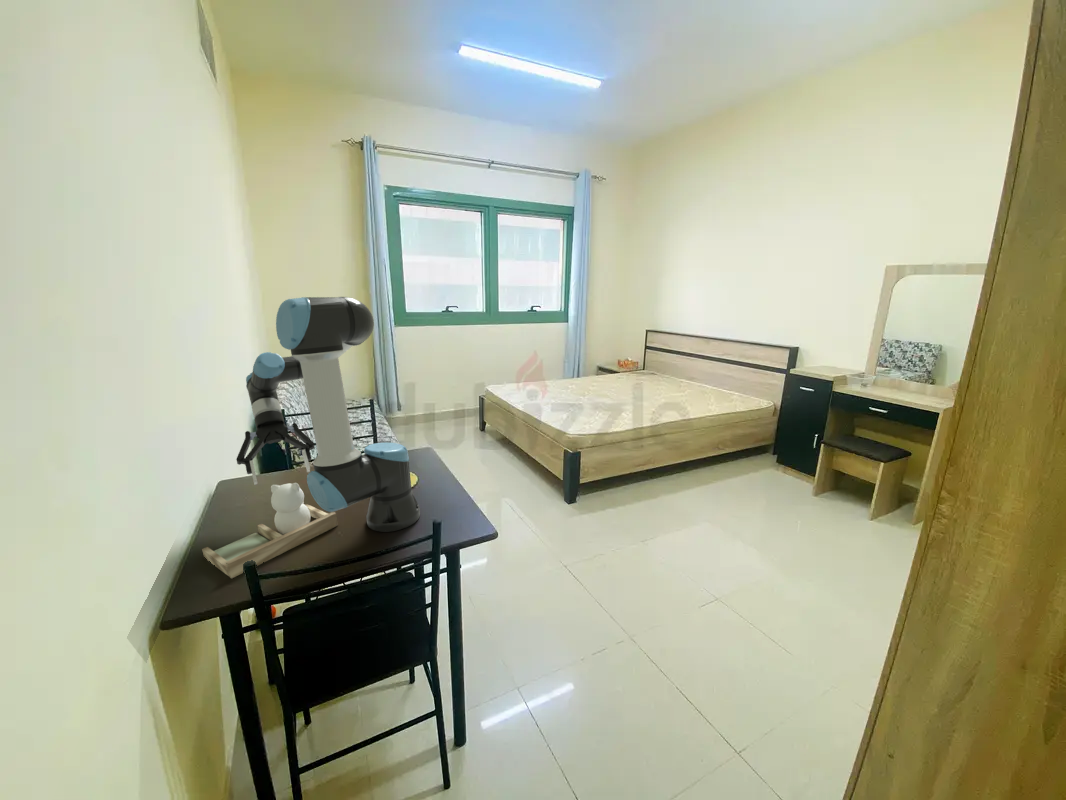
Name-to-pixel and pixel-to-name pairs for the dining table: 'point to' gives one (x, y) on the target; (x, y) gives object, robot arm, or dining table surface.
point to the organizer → (267, 543)
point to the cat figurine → (289, 507)
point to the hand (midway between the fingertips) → (283, 476)
